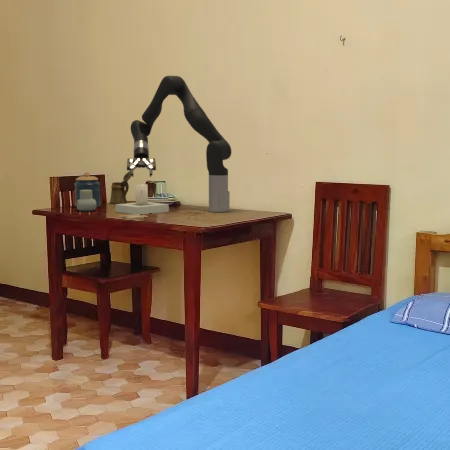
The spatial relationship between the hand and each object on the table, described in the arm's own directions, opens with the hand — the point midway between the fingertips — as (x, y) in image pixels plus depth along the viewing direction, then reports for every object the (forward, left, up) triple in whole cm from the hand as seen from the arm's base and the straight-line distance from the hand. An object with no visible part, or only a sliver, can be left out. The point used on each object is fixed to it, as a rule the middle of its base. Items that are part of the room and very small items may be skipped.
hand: (141, 175), depth 302 cm
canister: (+29, +13, -17) cm, 36 cm away
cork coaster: (-24, +21, -17) cm, 36 cm away
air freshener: (+13, +23, -17) cm, 32 cm away
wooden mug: (+30, -8, -17) cm, 35 cm away
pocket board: (-9, +6, -17) cm, 20 cm away
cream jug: (-10, +7, -17) cm, 20 cm away
